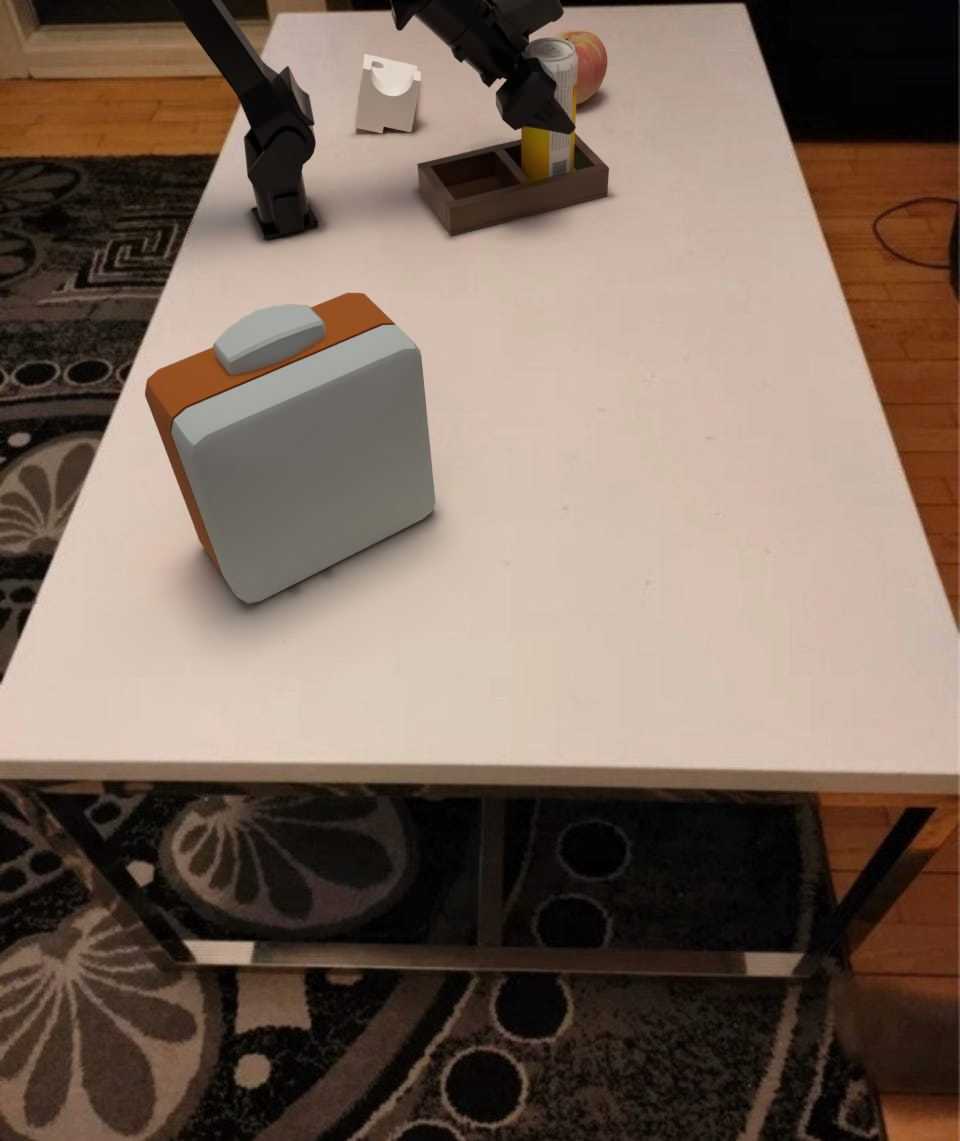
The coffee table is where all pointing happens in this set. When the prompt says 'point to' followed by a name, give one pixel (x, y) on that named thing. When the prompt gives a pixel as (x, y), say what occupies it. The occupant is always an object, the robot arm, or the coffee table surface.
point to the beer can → (553, 149)
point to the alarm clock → (297, 439)
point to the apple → (587, 61)
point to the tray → (504, 186)
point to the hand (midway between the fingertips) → (562, 110)
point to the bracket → (387, 95)
